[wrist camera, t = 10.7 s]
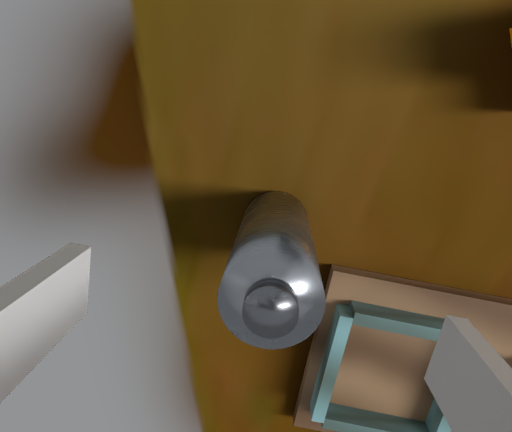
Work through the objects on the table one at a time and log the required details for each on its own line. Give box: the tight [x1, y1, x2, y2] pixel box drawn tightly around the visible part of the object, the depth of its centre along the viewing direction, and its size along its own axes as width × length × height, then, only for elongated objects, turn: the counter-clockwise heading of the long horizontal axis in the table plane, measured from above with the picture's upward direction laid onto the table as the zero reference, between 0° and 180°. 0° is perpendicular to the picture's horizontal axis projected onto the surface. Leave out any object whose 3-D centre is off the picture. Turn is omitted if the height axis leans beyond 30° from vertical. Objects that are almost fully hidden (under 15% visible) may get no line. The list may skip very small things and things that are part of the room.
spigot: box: [217, 191, 326, 349], centre depth 19 cm, size 4×4×11 cm
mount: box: [293, 264, 512, 432], centre depth 24 cm, size 12×20×4 cm, turn 80°
